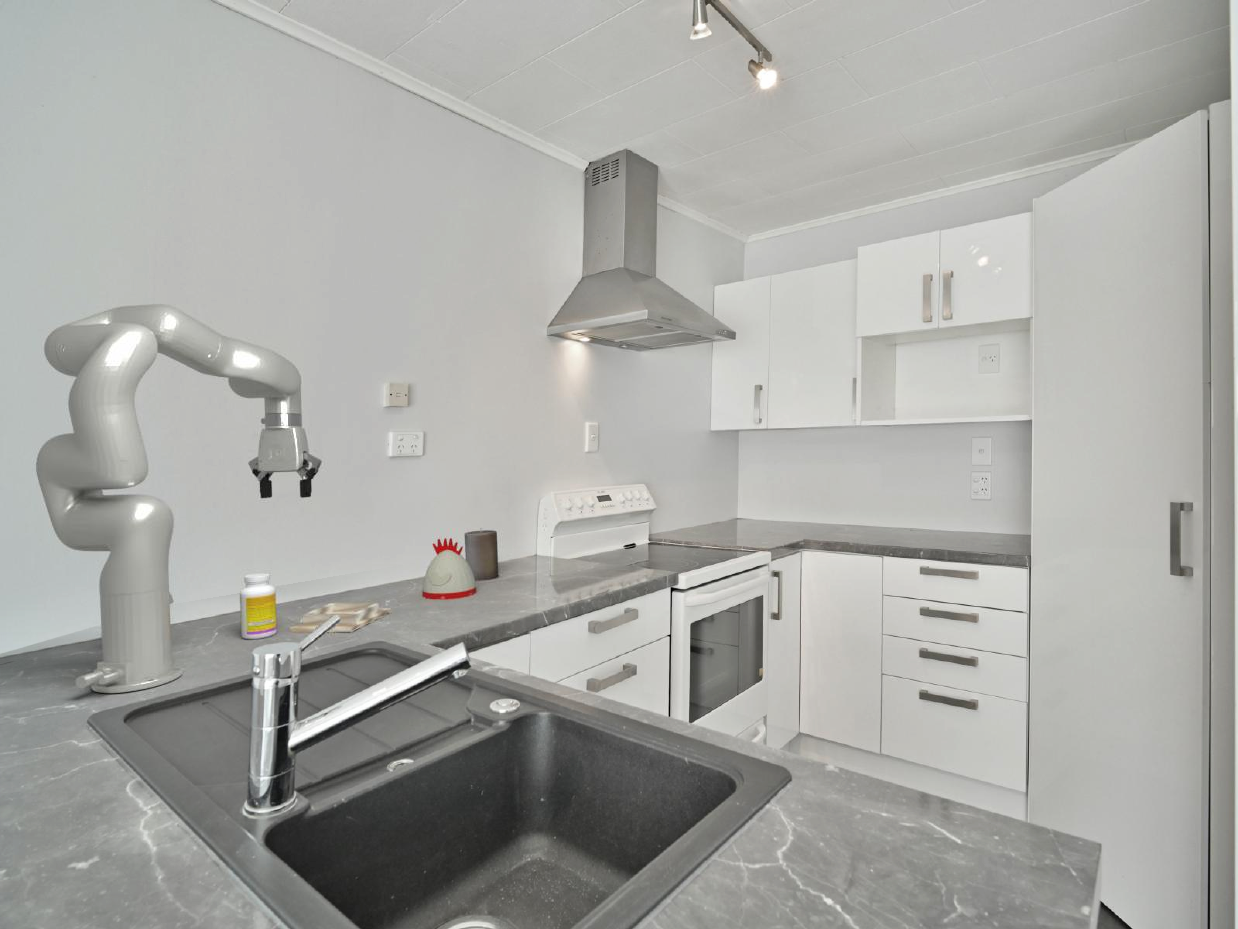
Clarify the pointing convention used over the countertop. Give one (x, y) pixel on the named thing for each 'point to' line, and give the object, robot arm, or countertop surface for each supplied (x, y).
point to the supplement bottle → (258, 607)
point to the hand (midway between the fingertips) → (286, 497)
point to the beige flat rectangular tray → (349, 613)
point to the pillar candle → (482, 553)
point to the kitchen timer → (448, 574)
